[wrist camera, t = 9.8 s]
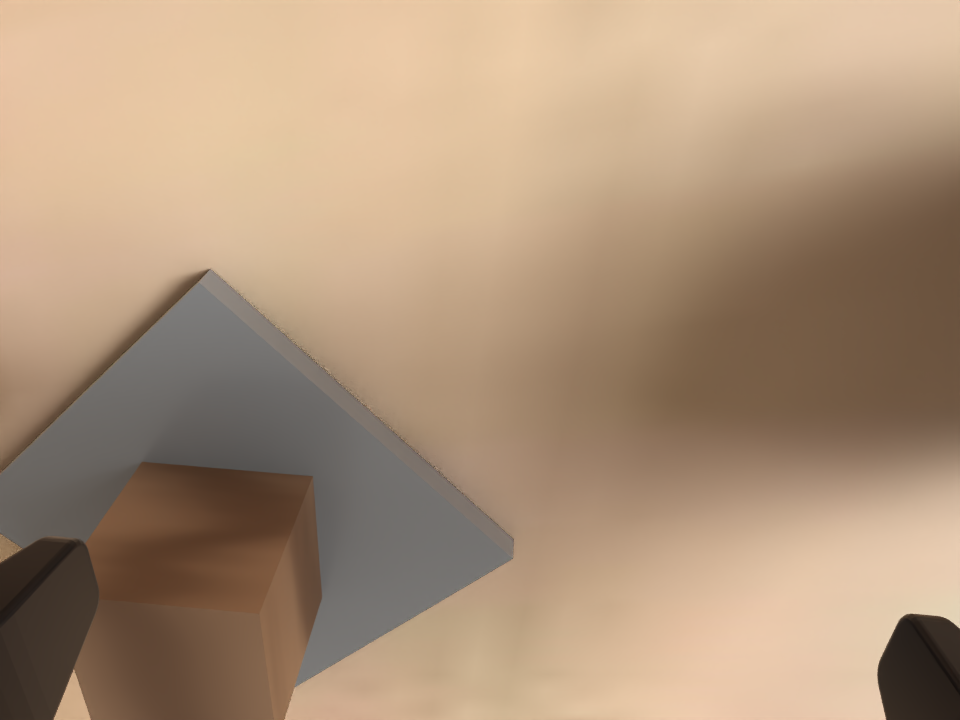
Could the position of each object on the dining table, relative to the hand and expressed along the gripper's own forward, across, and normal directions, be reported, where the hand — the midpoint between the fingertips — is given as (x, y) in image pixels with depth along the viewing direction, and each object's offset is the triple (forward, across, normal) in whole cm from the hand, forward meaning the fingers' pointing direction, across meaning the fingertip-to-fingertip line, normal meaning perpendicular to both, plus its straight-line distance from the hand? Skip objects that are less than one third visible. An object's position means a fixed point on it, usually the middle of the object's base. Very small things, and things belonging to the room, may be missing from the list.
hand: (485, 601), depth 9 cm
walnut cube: (+11, +8, +11) cm, 17 cm away
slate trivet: (+12, +8, +11) cm, 18 cm away
